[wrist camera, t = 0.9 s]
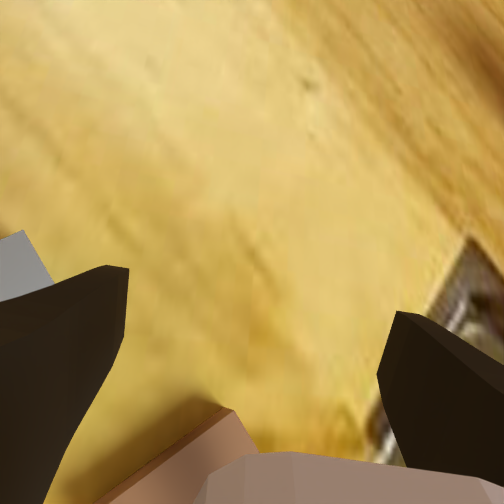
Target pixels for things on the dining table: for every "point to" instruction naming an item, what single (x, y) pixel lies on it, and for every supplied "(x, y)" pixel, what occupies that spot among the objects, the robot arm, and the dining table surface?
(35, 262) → the slate cube
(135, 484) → the walnut block
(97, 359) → the robot arm
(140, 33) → the dining table surface
